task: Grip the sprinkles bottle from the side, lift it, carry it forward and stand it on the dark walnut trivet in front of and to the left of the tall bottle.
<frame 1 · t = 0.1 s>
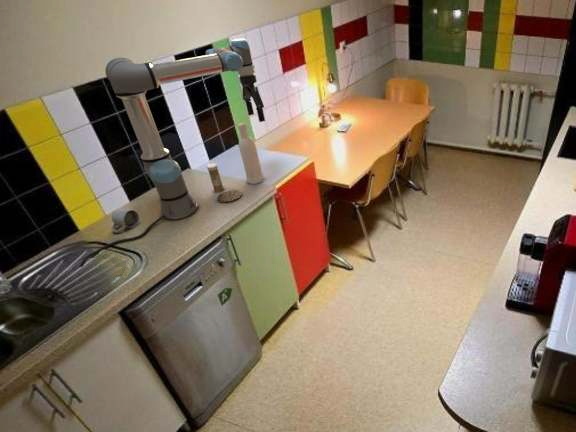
hand: (256, 118, 208), 28 cm above the table, tool pointing down, fingers open, 13 cm apart
bottle: (255, 180, 212), on the table
ceramic mug: (126, 227, 182), on the table
sprinkles bottle: (219, 190, 206), on the table
trivet: (229, 197, 199), on the table
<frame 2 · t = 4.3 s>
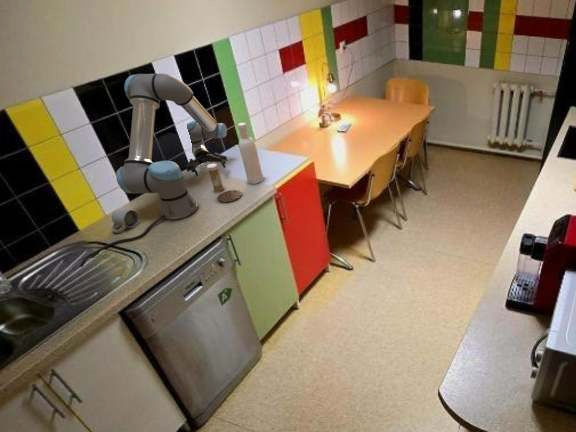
hand: (210, 169, 209), 8 cm above the table, tool horizontal, fingers open, 13 cm apart
nothing on the table moved.
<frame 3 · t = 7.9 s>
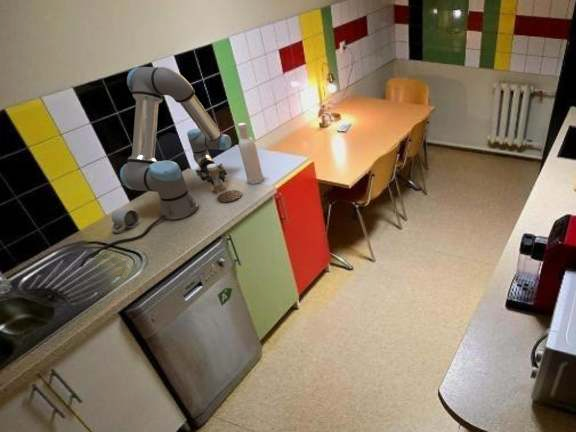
hand: (218, 181, 198), 7 cm above the table, tool horizontal, fingers closed on sprinkles bottle, 4 cm apart
sprinkles bottle: (219, 190, 206), on the table, touching gripper
everything else where it was.
when the fingers open (8 cm above the table, at t = 14.6 s): sprinkles bottle stays where it is, resting on trivet.
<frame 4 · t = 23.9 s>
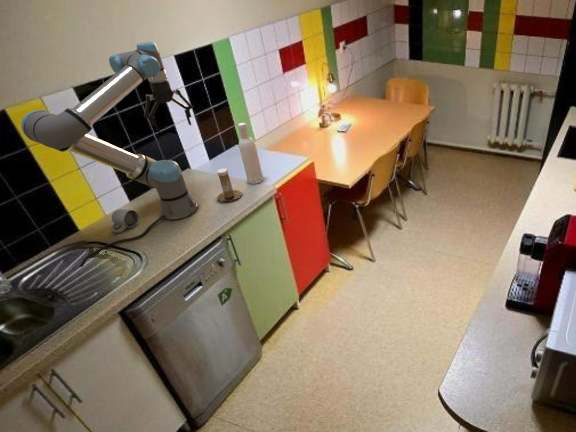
hand: (174, 128, 191), 32 cm above the table, tool pointing down, fingers open, 13 cm apart
sprinkles bottle: (229, 196, 199), point 1 cm above the table, touching trivet
everything else where it was.
at the end: sprinkles bottle 0.1 cm off-centre on the trivet, point 0.6 cm above the trivet's base; sprinkles bottle tilted 0°; sprinkles bottle inside the target area on the table beside the bottle (0.3 cm from its centre), point 0.8 cm above the table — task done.
